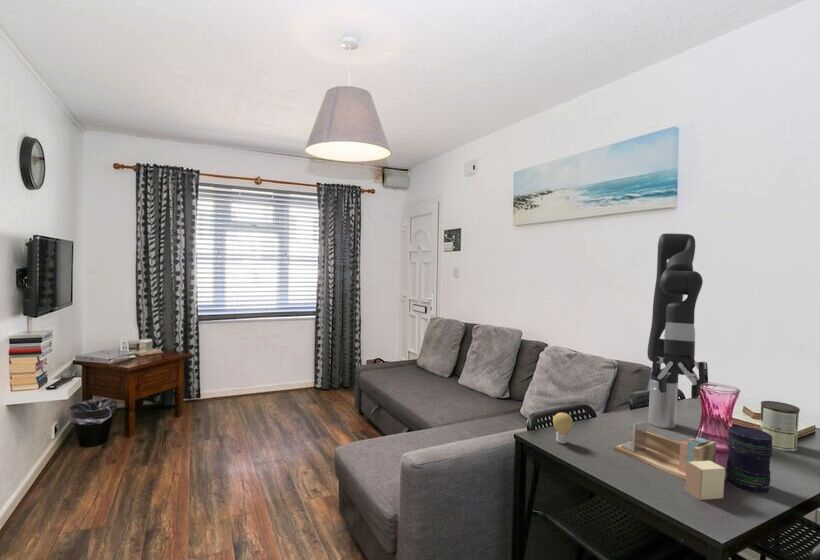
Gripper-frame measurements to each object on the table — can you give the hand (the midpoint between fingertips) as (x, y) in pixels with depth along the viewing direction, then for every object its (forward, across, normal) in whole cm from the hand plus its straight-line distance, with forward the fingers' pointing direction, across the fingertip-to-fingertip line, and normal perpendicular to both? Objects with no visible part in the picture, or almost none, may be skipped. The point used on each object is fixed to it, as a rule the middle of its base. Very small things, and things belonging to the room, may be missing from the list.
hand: (678, 395), depth 124 cm
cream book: (+24, -8, +1) cm, 26 cm away
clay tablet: (+22, +14, -23) cm, 34 cm away
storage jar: (+24, -11, -16) cm, 30 cm away
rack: (+22, +8, -8) cm, 25 cm away
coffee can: (+19, -4, -60) cm, 63 cm away
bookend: (+21, +17, -8) cm, 28 cm away
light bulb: (+22, +33, +8) cm, 41 cm away
